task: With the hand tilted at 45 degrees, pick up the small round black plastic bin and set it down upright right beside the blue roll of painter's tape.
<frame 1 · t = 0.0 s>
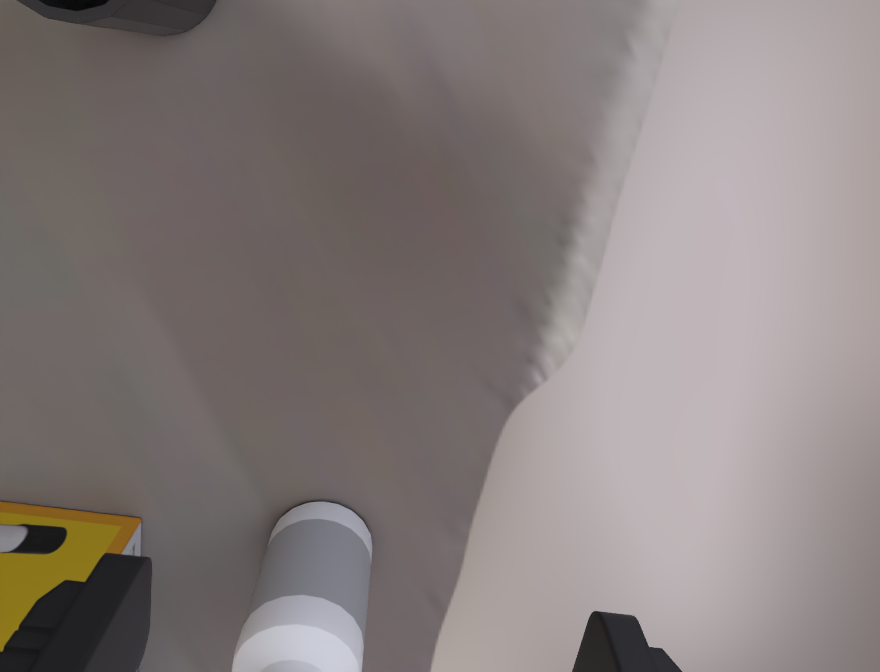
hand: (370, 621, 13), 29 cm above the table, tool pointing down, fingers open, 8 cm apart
packaging box: (20, 599, 48), on the table
spray bottle: (322, 539, 47), on the table
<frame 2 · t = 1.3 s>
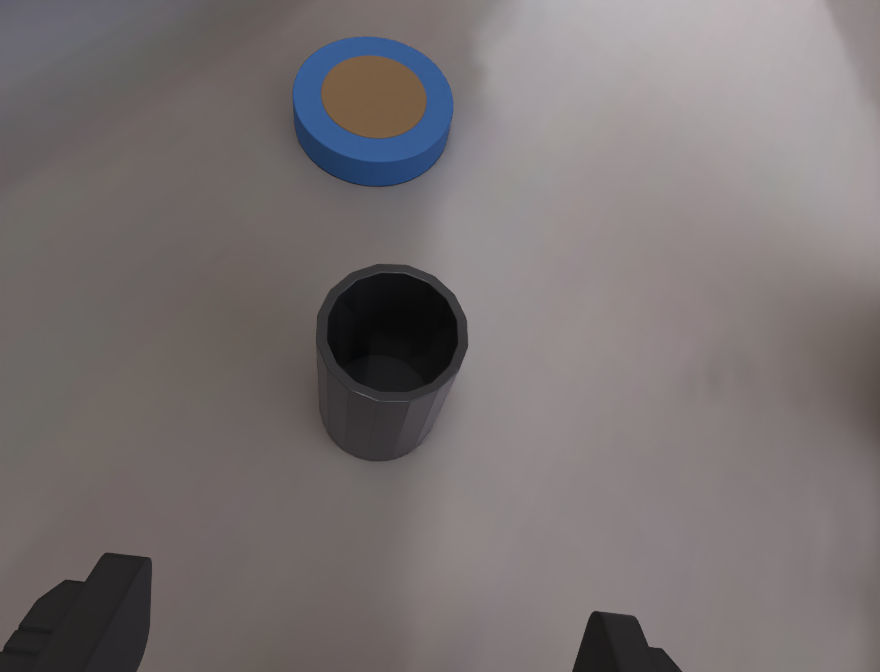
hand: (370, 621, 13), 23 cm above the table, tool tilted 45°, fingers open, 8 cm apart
bin: (378, 404, 38), on the table
tape: (372, 123, 46), on the table
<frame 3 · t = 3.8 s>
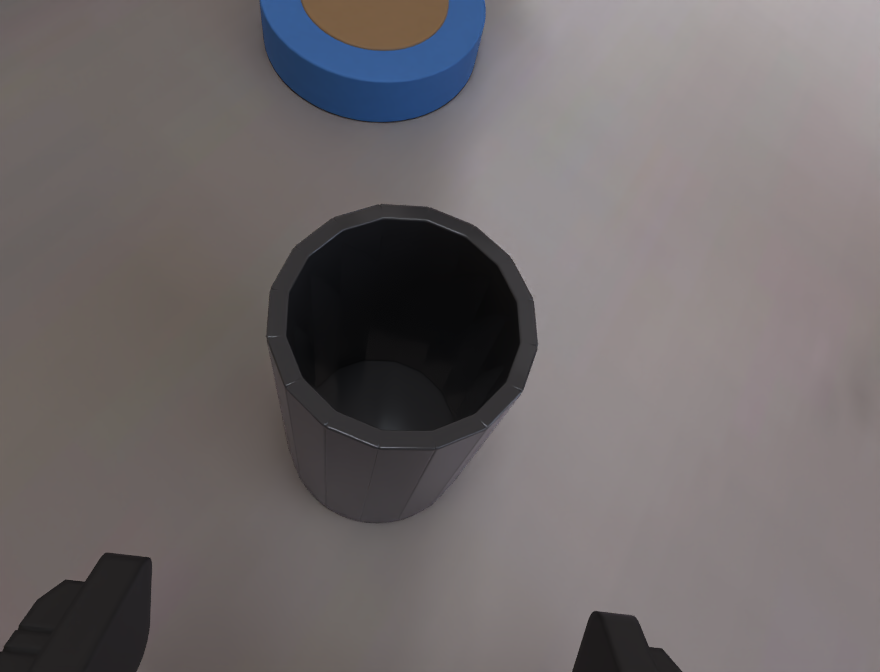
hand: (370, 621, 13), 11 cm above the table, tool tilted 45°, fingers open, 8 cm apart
bin: (378, 434, 25), on the table
tape: (371, 39, 33), on the table
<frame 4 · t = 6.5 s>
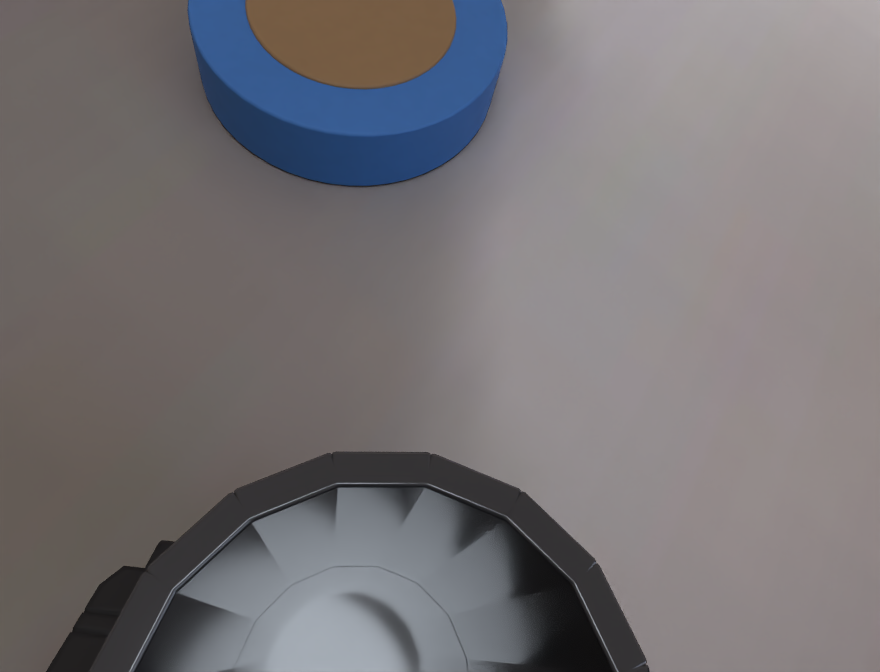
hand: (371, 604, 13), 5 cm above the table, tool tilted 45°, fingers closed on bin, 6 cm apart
tape: (350, 67, 24), on the table
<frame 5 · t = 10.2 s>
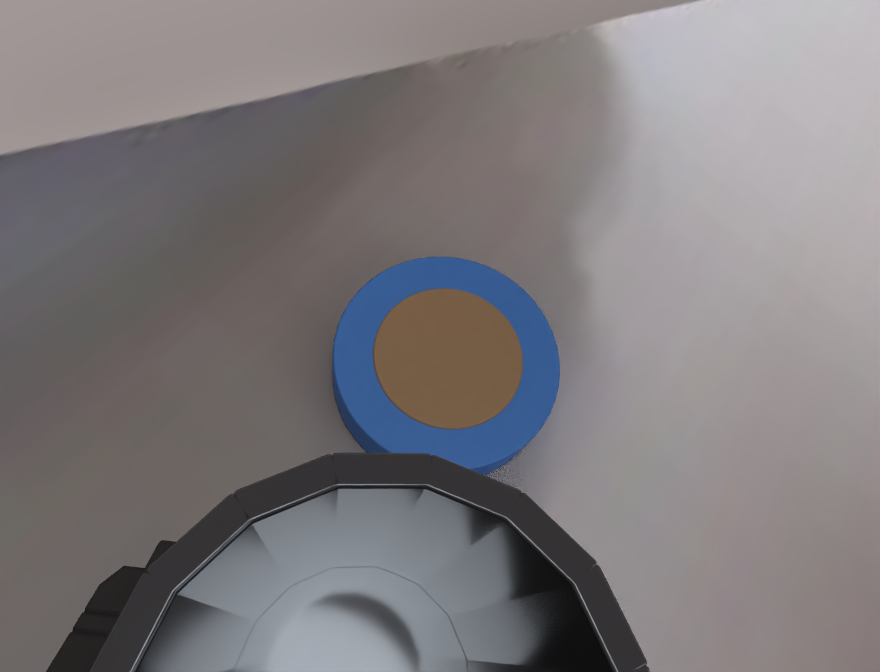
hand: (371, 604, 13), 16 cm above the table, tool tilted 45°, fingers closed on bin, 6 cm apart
tape: (440, 376, 33), on the table
when the fingers open (5 cm above the table, at t = 14.3 s): bin stays where it is, on the table.
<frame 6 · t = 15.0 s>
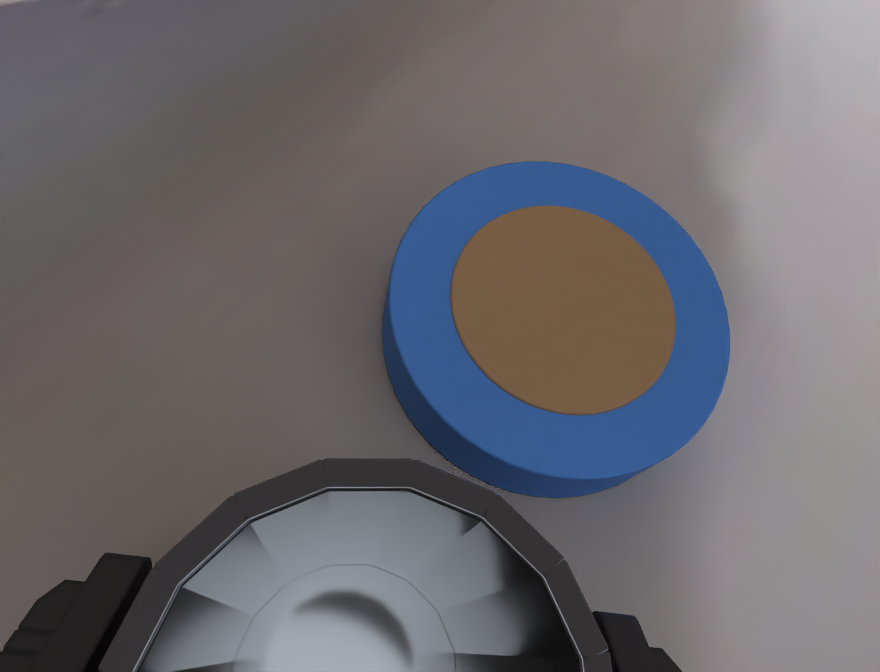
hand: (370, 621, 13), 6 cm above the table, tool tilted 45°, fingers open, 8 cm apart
tape: (540, 338, 22), on the table
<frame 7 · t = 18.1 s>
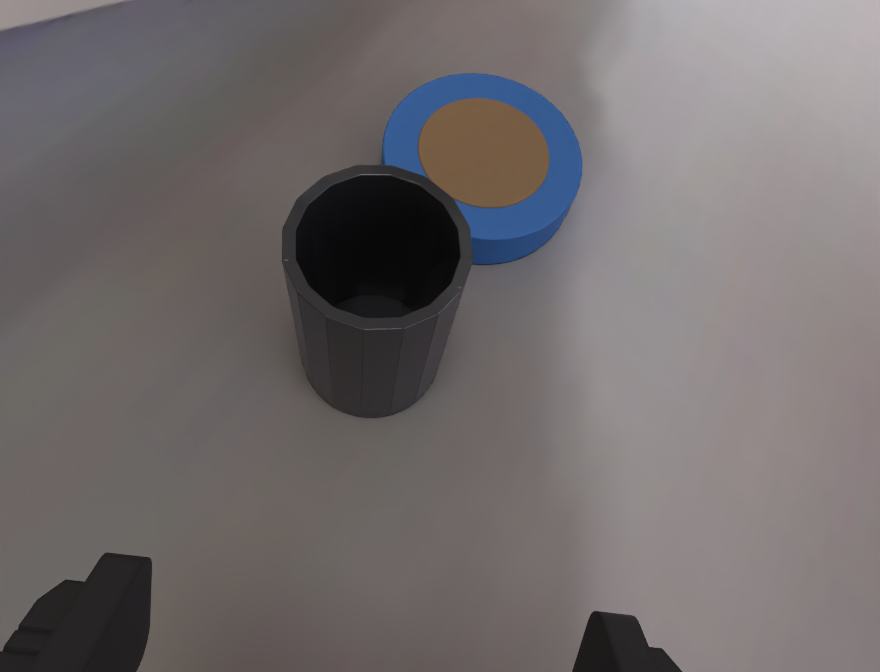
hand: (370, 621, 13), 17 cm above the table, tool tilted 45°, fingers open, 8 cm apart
bin: (371, 352, 32), on the table
tape: (476, 181, 37), on the table
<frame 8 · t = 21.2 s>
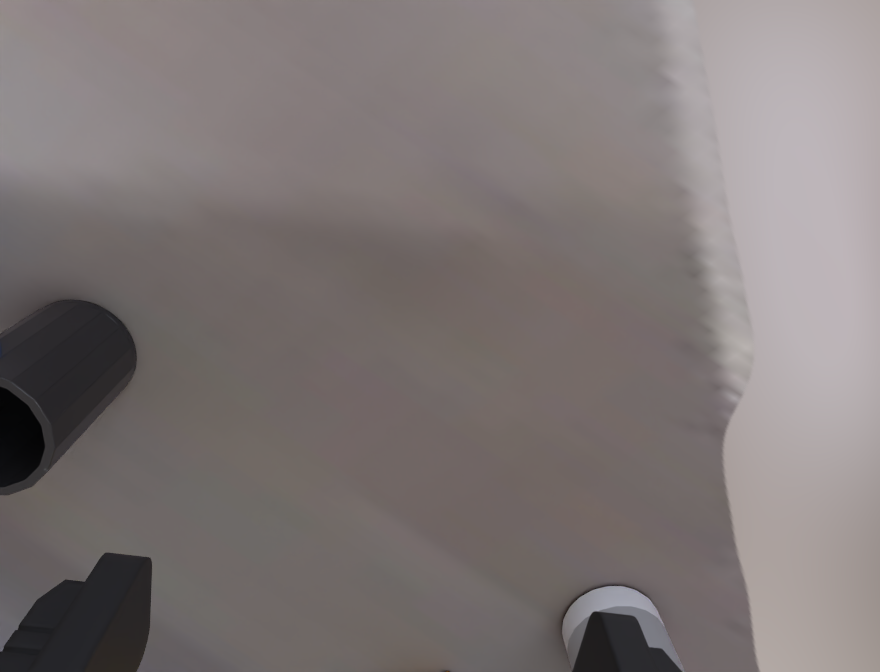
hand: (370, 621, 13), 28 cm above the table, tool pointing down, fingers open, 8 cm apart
bin: (81, 351, 40), on the table
spray bottle: (608, 620, 49), on the table
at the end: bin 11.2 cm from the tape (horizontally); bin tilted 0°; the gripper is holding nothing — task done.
